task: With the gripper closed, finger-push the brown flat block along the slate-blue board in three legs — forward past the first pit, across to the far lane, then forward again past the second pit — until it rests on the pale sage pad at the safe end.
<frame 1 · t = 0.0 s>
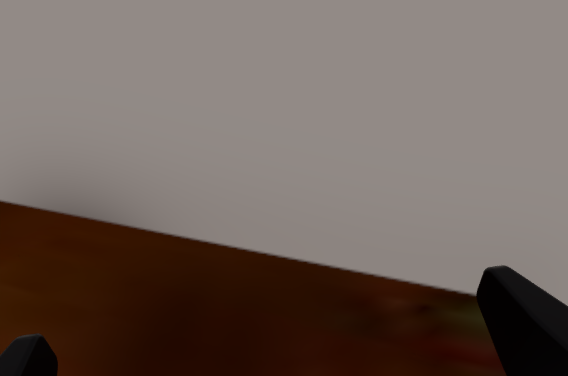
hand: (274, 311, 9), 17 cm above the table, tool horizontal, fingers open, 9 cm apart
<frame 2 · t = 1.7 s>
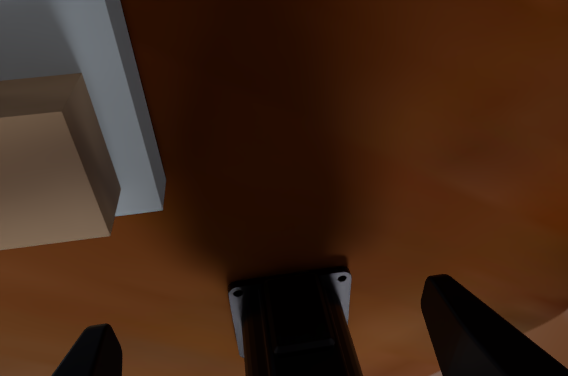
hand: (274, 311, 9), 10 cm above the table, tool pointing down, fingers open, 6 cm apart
brown flat block: (33, 143, 15), point 2 cm above the table, touching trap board
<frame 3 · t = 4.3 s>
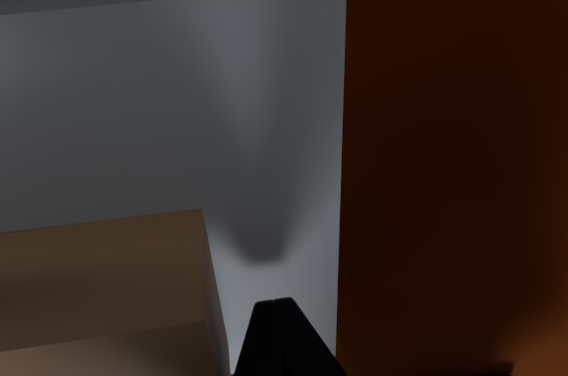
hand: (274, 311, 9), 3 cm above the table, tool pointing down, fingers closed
brown flat block: (110, 302, 9), point 2 cm above the table, touching gripper
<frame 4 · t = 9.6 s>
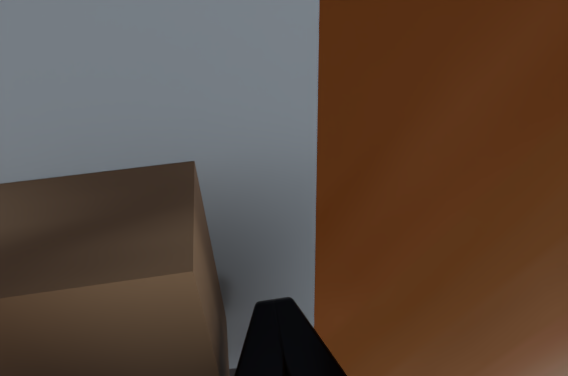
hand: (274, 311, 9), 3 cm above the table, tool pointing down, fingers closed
brown flat block: (99, 267, 9), point 2 cm above the table, touching gripper, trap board
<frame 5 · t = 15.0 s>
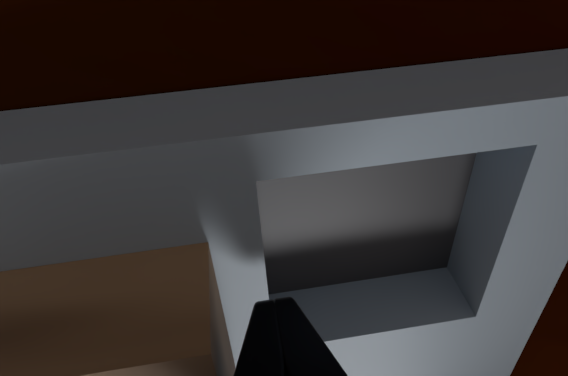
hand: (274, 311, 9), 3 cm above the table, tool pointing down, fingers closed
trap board: (156, 337, 14), on the table
brown flat block: (123, 327, 10), point 2 cm above the table, touching gripper
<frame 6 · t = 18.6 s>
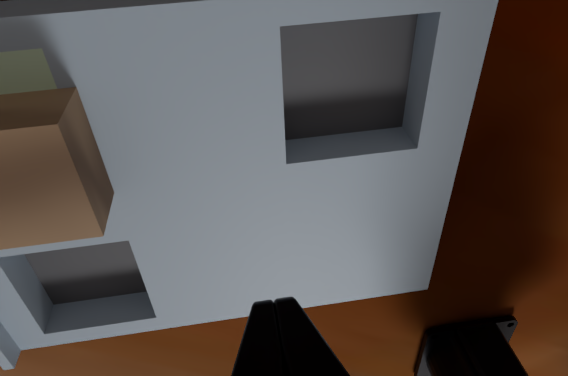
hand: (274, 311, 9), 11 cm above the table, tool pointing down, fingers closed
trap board: (204, 175, 20), on the table
brown flat block: (32, 151, 16), point 2 cm above the table, touching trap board
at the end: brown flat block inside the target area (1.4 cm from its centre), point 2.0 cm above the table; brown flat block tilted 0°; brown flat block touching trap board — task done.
